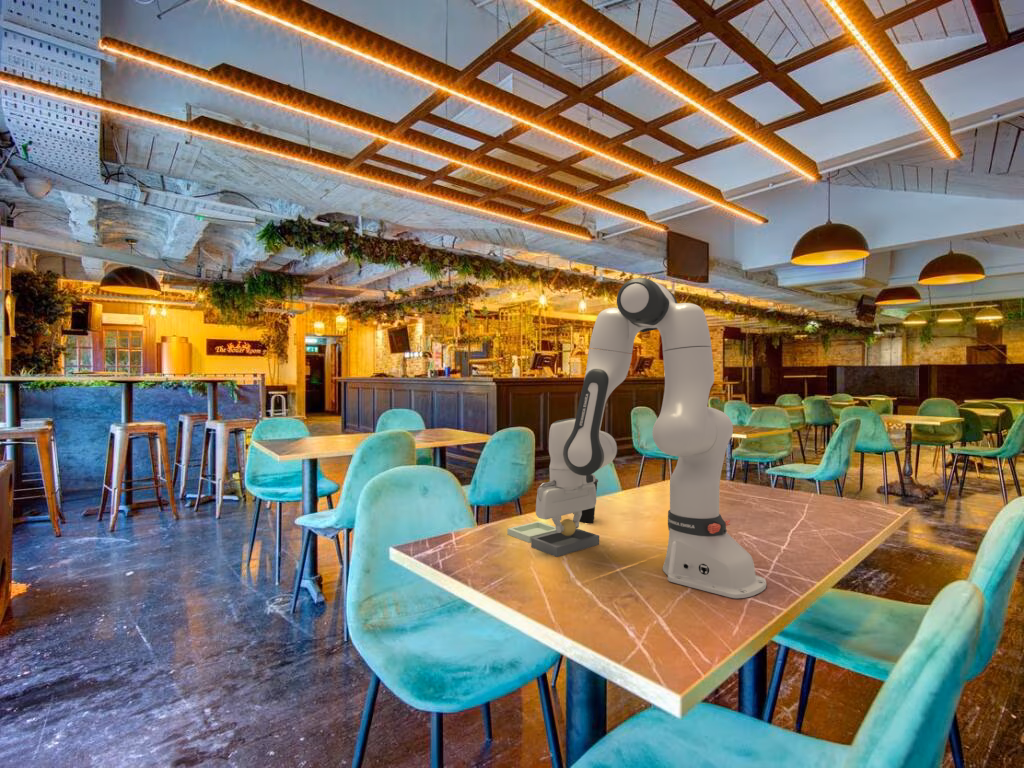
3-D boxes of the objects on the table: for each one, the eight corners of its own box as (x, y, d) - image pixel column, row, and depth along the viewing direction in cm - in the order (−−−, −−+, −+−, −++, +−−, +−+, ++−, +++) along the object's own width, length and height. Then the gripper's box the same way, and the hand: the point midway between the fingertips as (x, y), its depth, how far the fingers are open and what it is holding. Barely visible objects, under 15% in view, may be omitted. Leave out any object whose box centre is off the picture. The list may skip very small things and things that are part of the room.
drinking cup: (600, 525, 161) (599, 461, 161) (575, 525, 161) (575, 461, 161) (596, 518, 168) (596, 457, 168) (573, 518, 169) (573, 458, 168)
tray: (561, 536, 149) (561, 528, 149) (529, 544, 142) (529, 536, 142) (538, 528, 157) (538, 521, 157) (507, 536, 150) (507, 528, 150)
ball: (579, 535, 138) (578, 519, 138) (567, 538, 135) (567, 522, 135) (567, 532, 141) (567, 516, 142) (556, 535, 139) (555, 519, 139)
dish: (599, 546, 141) (599, 535, 140) (556, 559, 131) (556, 547, 131) (573, 537, 148) (573, 527, 148) (531, 549, 138) (531, 538, 138)
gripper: (546, 485, 130) (547, 540, 129) (599, 475, 143) (601, 524, 142) (529, 482, 134) (531, 535, 134) (582, 472, 147) (584, 521, 147)
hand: (567, 529), depth 138 cm, fingers closed on ball, 4 cm apart
